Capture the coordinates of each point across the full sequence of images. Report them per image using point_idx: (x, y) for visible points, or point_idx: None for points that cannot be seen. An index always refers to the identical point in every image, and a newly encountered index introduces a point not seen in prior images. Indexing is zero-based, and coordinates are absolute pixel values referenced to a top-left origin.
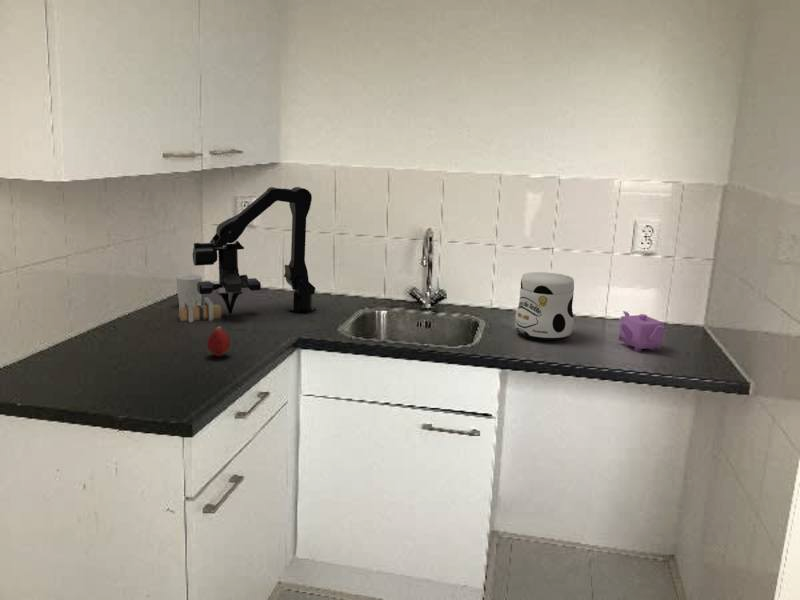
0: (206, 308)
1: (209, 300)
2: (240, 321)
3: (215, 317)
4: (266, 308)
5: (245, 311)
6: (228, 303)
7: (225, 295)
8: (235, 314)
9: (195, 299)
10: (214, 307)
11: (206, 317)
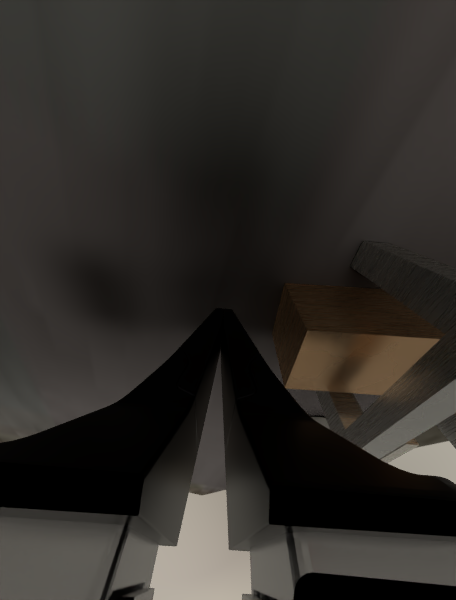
0: (431, 335)
1: (413, 418)
2: (190, 125)
3: (321, 288)
4: (46, 353)
5: (137, 345)
6: (237, 352)
7: (322, 456)
8: (190, 319)
9: (390, 457)
10: (365, 333)
11: (379, 294)
